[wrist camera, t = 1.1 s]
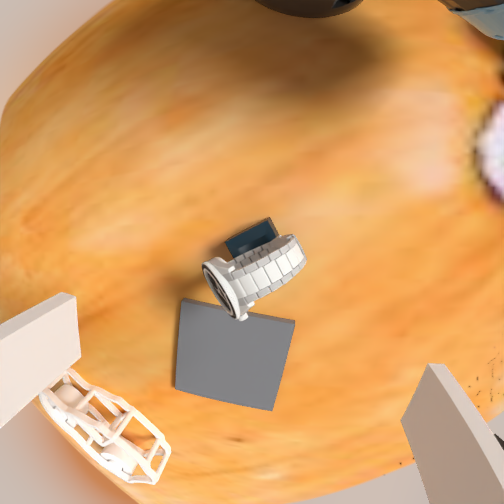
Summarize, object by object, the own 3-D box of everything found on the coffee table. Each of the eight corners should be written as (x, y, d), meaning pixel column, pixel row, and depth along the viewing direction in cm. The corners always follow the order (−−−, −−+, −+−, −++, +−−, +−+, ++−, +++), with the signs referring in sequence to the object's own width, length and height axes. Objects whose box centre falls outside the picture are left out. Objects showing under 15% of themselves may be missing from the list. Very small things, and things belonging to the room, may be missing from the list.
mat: (184, 297, 33) (181, 301, 32) (294, 320, 32) (295, 324, 31) (177, 384, 35) (175, 389, 34) (272, 406, 34) (272, 411, 33)
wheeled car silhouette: (54, 379, 39) (28, 402, 32) (82, 350, 37) (52, 375, 30) (140, 463, 40) (124, 492, 33) (181, 447, 38) (165, 481, 31)
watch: (214, 245, 31) (176, 274, 21) (285, 208, 30) (284, 218, 19) (240, 293, 32) (216, 342, 21) (311, 259, 31) (322, 296, 20)
